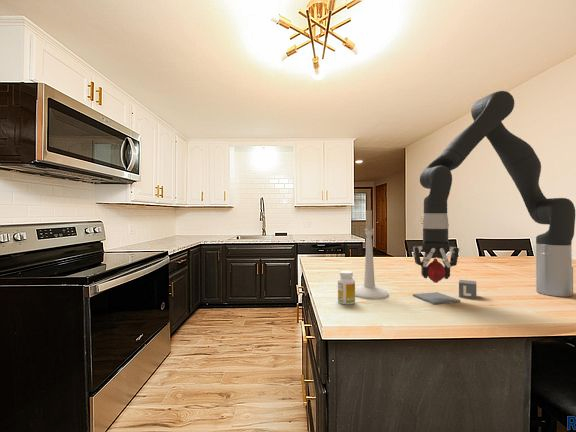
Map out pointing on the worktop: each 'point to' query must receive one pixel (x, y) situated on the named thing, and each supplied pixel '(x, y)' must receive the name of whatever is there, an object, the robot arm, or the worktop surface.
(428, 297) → the mat
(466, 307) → the worktop surface
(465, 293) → the marked cube
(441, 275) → the onion
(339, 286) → the supplement bottle
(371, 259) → the candlestick
